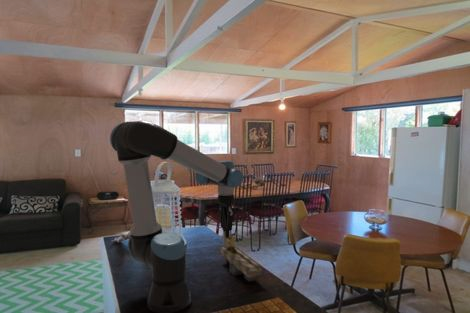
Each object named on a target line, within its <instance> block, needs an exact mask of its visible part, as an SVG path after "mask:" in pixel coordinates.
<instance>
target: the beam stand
mask: <svg viewBox="0 0 470 313" xmlns="http://www.w3.org/2000/svg"><path fill="white" fill-rule="evenodd" d="M219 253H220V255H222V256H223V258H225V263H226V264H228V265H229V273H231V274H232V275H233V276H240V275H244V277H243V278H244V279H245V280H246V281H247V282H254V281H258V280H259V275H262V268H261V267H260V266H261V265H260V264H259V263H257V262H255V261H254V260H253V259H252V258H250V257H249V256H247V255H246V254H245V253H244V252H242V251H241V250H239V249H238V248H237V247H235V249H234V252H230V251H228V250H227V249H226V247H224V246H222V247H221V248H220V250H219Z"/></svg>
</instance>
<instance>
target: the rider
mask: <svg viewBox="0 0 470 313" xmlns="http://www.w3.org/2000/svg"><path fill="white" fill-rule="evenodd" d="M225 248H226V249H227V250H228V251H230V252H234V249H235V248H236V237H235V236H233V235H232V234H230V235H229V237H226V245H225Z"/></svg>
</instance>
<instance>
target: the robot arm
mask: <svg viewBox="0 0 470 313" xmlns="http://www.w3.org/2000/svg"><path fill="white" fill-rule="evenodd" d="M109 142H110V145H111V147H112V149H113V150H114V151H115V152H116V153H117V154H116V155H117V161H118V162H119V163H120V164H122V166H123V170H124V175H125V176H124V177H125V182H126V188H127V194H128V195H127V196H128V201H129V206H130V213H131V219H132V225H133V227H132V228H131V230H130V232H129V234H130V237H129V239H128V241H127V250H128V252H129V255H130V256H131V257H132V258H133V259H134V260H135V261H137V262H139V263H141V264H143V265H145V266H147V267H148V268H150V269H151V286H150V289H149V294H148V296H147V301H146V302H147V308H148V310H150V311H151V312H153V313H177V312H180V311H182V310H185V309H186V308H187V307H189V305H190V304H191V301H192V300H191V299H192V296H191V291H190V289H189V285H188V283H187V279H186V278H187V277H186V252H187V251H186V244H185V240H184V238H183V237H182V236H181V235H179V234H177V233H169V232H168V233H167V232H165V233H163V227H162V224H160V223H159V222H157V216H156V209H155V201H154V195H153V189H152V182H151V181H152V180H151V174H150V168H149V160H150V159H151V158H152V157H156V158H159V159H160V160H162V161H163V160H164V161H166V160H170V161H172V162H174V163H176V164H178V165H181V166H183V167H185V168H186V169H189V170H191V171H193V172H195V174H194V176H195V180H196V183H197V184H199V185H215V186H217V194H218V195H217V202H218V204H220V206H218V211H219V220H220V223H219V224H220V228H222V229H221V230H222V236H223V237H222V244H223V245H224V246H226V237H229V235H231V234H230V233H231V232H230V231H232V230H233V224H234V223H233V221H234V215H235V211H234V210H232V204H233V203H234V202H235V194H234V193H235V188H239V187H240V186H241V185H242V184H243V179H244V178H243V177H244V174H243V173H242V171H241V170H240V169H237V168H235V164H234V161H232V160H219V161H217V160H216V159H214V158H212V157H210V156H209V155H207V154H205V153H203V152H201V151H199V150H197V149H196V148H193V147H192V146H191V145H189V144H187V143H185V142H183V141H181V140H180V139H178V136H177V135H176V134H174V133H172V132H171V131H169V130H167V129H165V128H164V127H161V126H159V125H157V123H154V122H152V121H148V120H135V121H134V120H133V121H124V122H121V123H118V124H117V125H116V126H114V128H113V129H112V131H111V133H110V138H109Z"/></svg>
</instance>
